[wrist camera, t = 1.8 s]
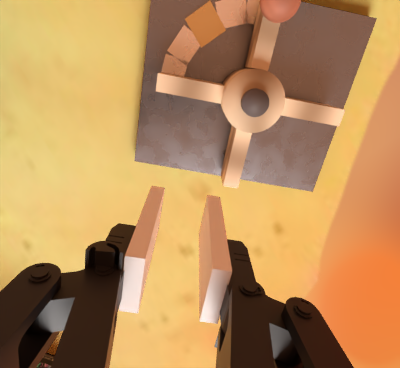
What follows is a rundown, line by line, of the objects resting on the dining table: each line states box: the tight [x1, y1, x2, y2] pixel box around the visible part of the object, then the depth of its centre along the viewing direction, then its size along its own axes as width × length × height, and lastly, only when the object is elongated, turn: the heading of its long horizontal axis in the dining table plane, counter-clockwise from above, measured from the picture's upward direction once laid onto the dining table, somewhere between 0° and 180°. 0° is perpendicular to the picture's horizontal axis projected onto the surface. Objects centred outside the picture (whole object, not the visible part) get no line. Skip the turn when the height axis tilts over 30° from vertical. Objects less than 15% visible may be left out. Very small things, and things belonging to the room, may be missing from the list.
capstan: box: [156, 0, 345, 188], centre depth 27 cm, size 18×19×7 cm
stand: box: [135, 0, 377, 192], centre depth 31 cm, size 22×19×2 cm
